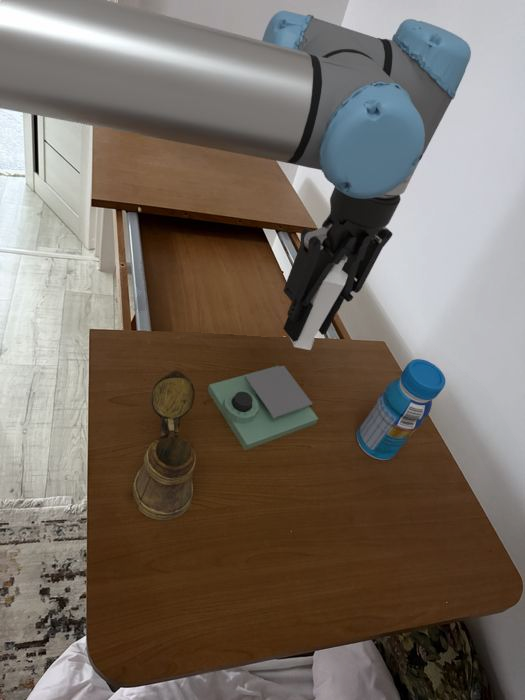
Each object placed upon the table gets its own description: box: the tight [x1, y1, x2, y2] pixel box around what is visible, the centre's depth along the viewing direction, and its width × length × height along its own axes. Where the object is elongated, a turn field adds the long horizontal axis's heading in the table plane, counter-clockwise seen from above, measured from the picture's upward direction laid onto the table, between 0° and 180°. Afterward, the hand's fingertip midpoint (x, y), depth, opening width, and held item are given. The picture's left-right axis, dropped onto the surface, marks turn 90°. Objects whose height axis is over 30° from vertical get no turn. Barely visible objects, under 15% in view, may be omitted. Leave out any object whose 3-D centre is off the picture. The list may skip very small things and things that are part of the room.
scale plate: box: [245, 365, 314, 419], centre depth 93 cm, size 9×10×1 cm
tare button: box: [233, 392, 253, 412], centre depth 88 cm, size 3×3×2 cm
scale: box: [206, 365, 319, 451], centre depth 92 cm, size 17×14×4 cm
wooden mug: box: [131, 369, 196, 521], centre depth 72 cm, size 9×14×18 cm, turn 13°
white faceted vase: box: [289, 255, 348, 351], centre depth 69 cm, size 5×4×15 cm
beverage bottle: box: [356, 358, 446, 461], centre depth 89 cm, size 8×8×20 cm
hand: (304, 331), depth 73 cm, fingers closed on white faceted vase, 5 cm apart
